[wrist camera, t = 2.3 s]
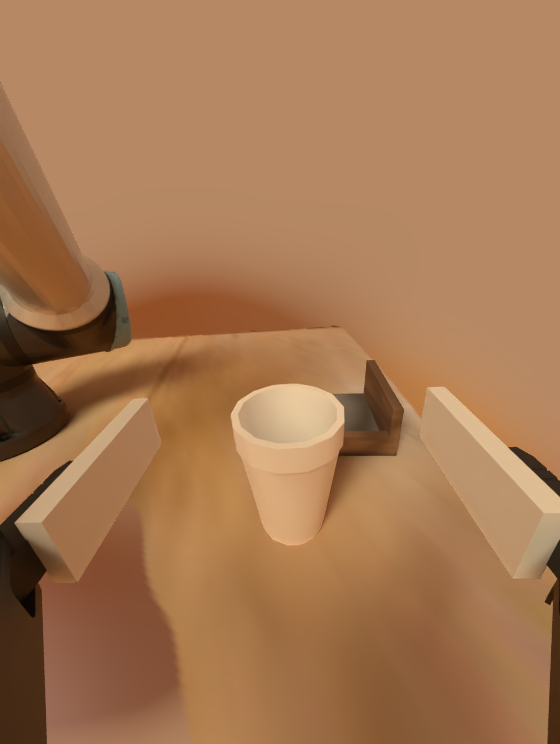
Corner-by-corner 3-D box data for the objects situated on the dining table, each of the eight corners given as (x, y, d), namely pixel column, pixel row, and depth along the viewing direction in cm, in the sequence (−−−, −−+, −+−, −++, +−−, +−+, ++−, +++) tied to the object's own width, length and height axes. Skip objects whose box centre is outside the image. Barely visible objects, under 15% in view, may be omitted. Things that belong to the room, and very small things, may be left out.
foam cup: (306, 585, 24) (305, 468, 18) (227, 528, 29) (206, 422, 23) (352, 504, 31) (362, 400, 25) (282, 468, 36) (276, 375, 30)
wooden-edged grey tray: (240, 455, 38) (233, 411, 35) (254, 399, 51) (250, 363, 48) (396, 455, 37) (404, 409, 34) (370, 397, 49) (374, 360, 46)
